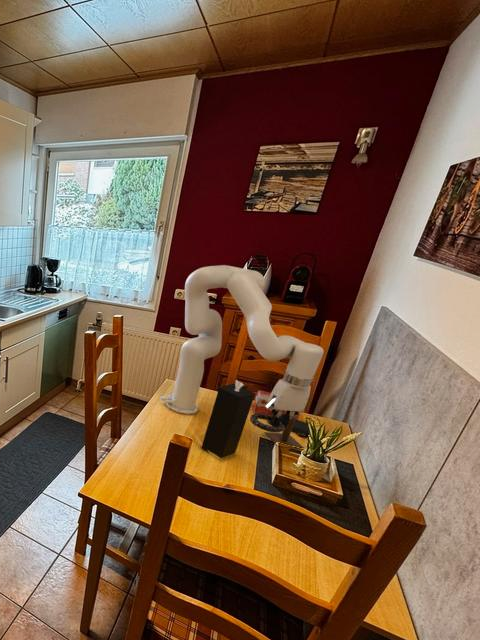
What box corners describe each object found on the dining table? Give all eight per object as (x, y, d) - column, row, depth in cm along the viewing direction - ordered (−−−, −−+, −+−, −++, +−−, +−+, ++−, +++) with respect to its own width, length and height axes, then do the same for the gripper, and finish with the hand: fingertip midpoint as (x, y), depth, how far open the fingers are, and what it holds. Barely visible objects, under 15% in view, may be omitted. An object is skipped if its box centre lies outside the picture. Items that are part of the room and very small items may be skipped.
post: (277, 449, 142) (287, 422, 137) (263, 435, 150) (272, 409, 146) (302, 450, 142) (313, 423, 137) (287, 436, 150) (297, 411, 145)
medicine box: (253, 413, 166) (259, 396, 163) (252, 405, 173) (258, 389, 169) (296, 424, 159) (302, 407, 156) (293, 415, 166) (299, 399, 163)
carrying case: (265, 427, 156) (310, 441, 148) (267, 420, 155) (313, 434, 146) (268, 416, 164) (311, 430, 155) (271, 410, 163) (314, 423, 154)
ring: (259, 432, 133) (261, 427, 132) (243, 415, 142) (245, 411, 141) (290, 434, 132) (292, 429, 132) (272, 418, 142) (274, 413, 141)
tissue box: (220, 460, 134) (244, 388, 123) (200, 448, 140) (221, 378, 129) (234, 455, 137) (258, 384, 126) (214, 443, 144) (235, 374, 133)
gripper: (313, 376, 133) (294, 421, 140) (266, 372, 133) (249, 418, 141) (329, 386, 126) (308, 433, 133) (279, 382, 127) (260, 429, 134)
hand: (278, 425), depth 137 cm, fingers closed on ring, 2 cm apart
